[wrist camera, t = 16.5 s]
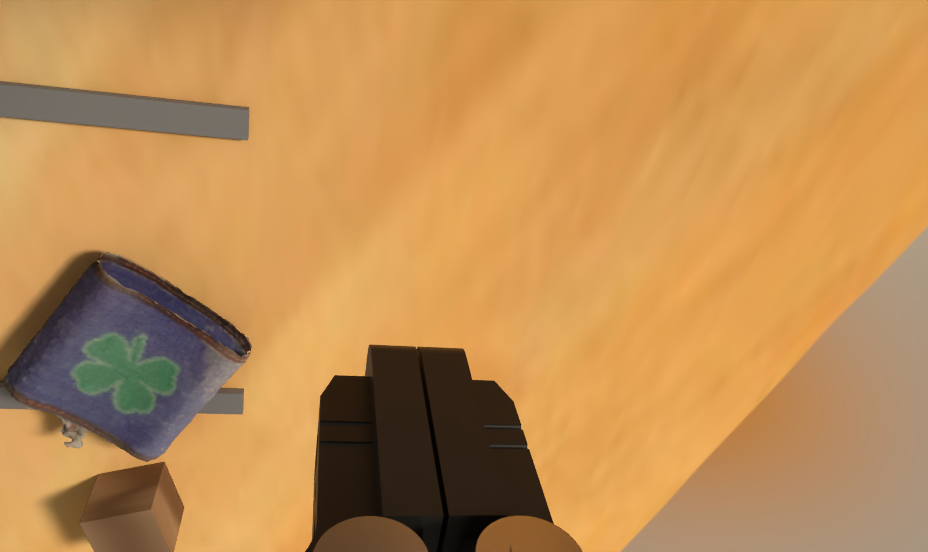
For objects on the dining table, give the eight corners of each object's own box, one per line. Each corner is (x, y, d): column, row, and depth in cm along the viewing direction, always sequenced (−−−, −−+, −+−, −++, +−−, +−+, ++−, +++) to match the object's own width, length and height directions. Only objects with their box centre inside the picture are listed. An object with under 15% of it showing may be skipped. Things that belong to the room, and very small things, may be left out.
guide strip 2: (243, 388, 44) (242, 394, 43) (243, 409, 45) (242, 414, 44) (-60, 379, 41) (-65, 385, 40) (-56, 401, 41) (-60, 407, 41)
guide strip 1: (248, 107, 36) (248, 110, 36) (248, 137, 37) (247, 140, 36) (-127, 67, 33) (-133, 70, 32) (-120, 101, 33) (-126, 104, 33)
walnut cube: (164, 460, 46) (151, 509, 42) (184, 506, 48) (172, 556, 44) (98, 473, 45) (79, 523, 42) (121, 518, 47) (104, 570, 44)
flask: (252, 362, 40) (136, 490, 42) (256, 334, 42) (146, 456, 45) (91, 266, 36) (-27, 413, 38) (106, 241, 38) (-5, 380, 41)
